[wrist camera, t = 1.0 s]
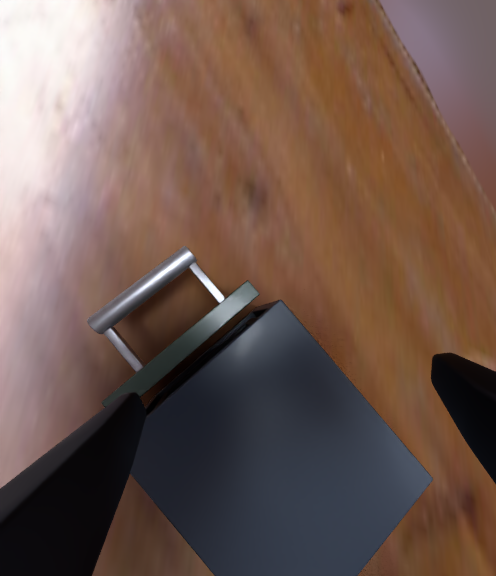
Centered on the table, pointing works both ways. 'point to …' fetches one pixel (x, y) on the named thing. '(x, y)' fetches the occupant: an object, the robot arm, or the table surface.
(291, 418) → the cabinet
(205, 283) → the drawer
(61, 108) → the table surface
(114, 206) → the table surface
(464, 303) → the table surface
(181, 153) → the table surface
